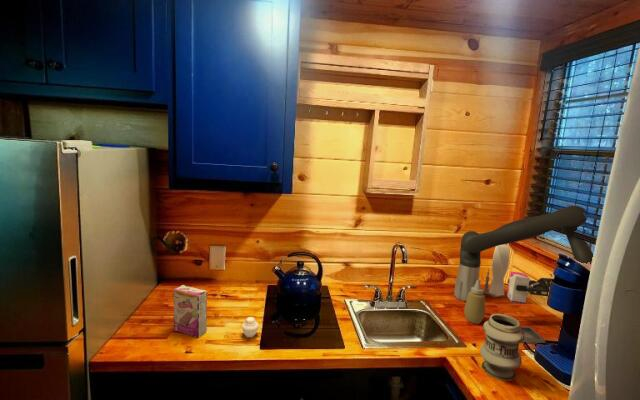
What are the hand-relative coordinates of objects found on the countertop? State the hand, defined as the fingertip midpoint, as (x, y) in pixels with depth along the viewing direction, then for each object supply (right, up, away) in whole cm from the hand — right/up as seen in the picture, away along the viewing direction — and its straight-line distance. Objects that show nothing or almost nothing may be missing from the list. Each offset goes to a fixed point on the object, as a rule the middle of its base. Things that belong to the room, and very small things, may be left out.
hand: (512, 284), depth 143 cm
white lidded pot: (-107, -14, -18) cm, 109 cm away
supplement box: (+2, -7, +1) cm, 7 cm away
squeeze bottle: (-15, -16, +2) cm, 22 cm away
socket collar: (0, -18, -8) cm, 20 cm away
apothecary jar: (-22, -21, -31) cm, 44 cm away
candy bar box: (-129, -13, -18) cm, 130 cm away
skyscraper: (+9, -13, +32) cm, 35 cm away
